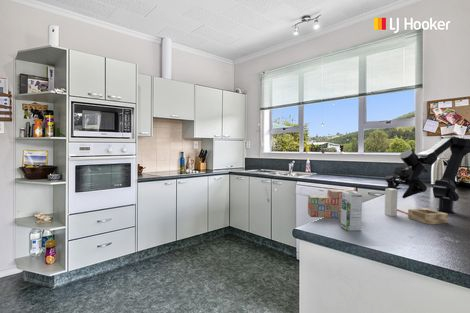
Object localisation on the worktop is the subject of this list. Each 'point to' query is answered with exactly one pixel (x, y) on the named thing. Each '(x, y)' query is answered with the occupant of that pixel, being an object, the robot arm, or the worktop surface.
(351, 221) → the syrup box
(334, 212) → the stack of blocks
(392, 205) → the white rectangular block
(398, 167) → the robot arm
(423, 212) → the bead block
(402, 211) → the red square stick
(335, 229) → the worktop surface
